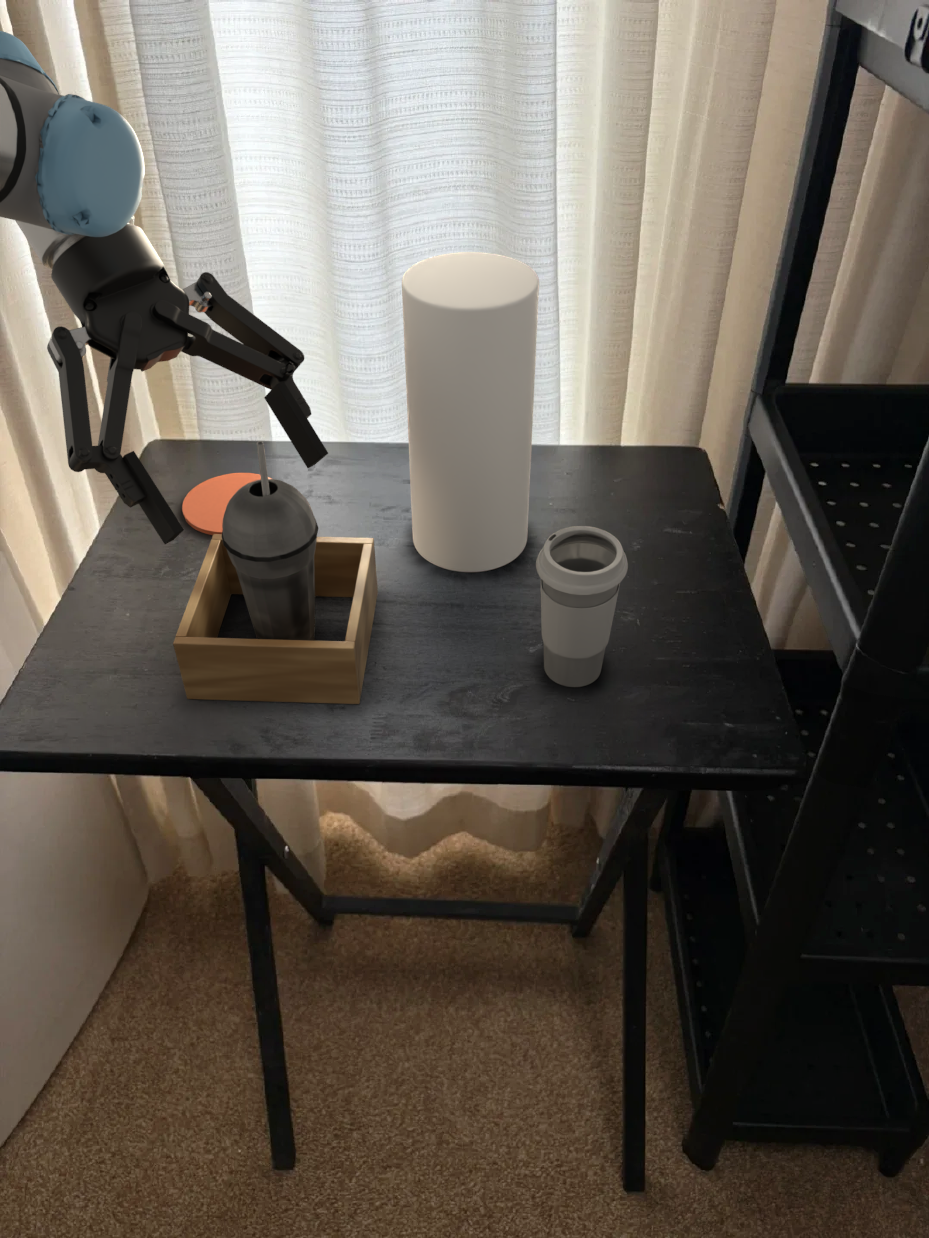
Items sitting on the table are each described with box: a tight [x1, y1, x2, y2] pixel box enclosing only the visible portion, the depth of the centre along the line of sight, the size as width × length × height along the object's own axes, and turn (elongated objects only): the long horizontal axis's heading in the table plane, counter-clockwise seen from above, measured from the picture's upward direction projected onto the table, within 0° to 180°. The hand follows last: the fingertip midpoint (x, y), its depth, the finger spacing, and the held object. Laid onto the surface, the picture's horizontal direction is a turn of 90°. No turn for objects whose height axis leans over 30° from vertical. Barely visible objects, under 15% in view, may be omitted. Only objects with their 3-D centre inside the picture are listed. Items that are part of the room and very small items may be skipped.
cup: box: [535, 525, 629, 688], centre depth 81 cm, size 7×7×12 cm
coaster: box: [181, 472, 273, 536], centre depth 101 cm, size 10×10×1 cm
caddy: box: [172, 534, 379, 705], centre depth 85 cm, size 14×14×6 cm
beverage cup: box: [222, 440, 319, 641], centre depth 80 cm, size 7×7×20 cm
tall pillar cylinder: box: [401, 251, 540, 573], centre depth 89 cm, size 11×11×25 cm
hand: (249, 498), depth 79 cm, fingers open, 13 cm apart
